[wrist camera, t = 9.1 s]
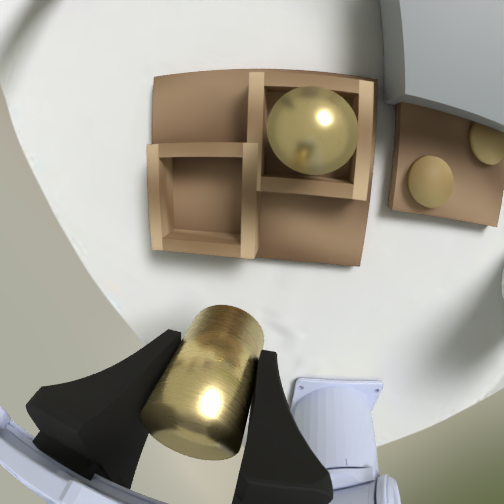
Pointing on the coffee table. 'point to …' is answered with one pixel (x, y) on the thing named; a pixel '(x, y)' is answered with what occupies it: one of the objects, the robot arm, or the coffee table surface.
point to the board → (446, 166)
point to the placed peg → (313, 130)
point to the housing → (446, 56)
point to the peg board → (253, 170)
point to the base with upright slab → (503, 284)
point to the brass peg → (207, 386)
